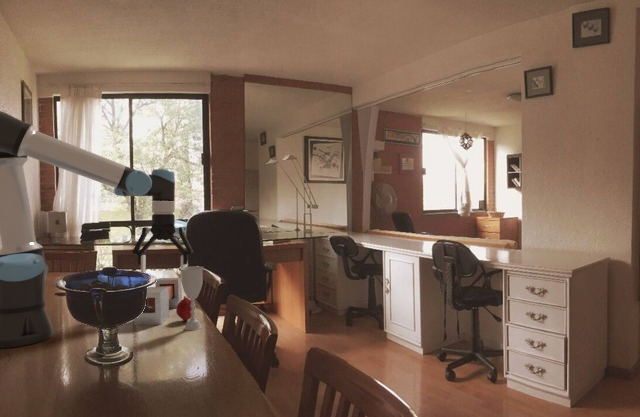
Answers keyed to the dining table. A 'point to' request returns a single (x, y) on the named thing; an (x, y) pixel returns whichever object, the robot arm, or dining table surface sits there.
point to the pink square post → (170, 290)
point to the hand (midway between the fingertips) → (163, 273)
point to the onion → (184, 309)
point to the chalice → (192, 291)
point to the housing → (155, 307)
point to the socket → (177, 290)
